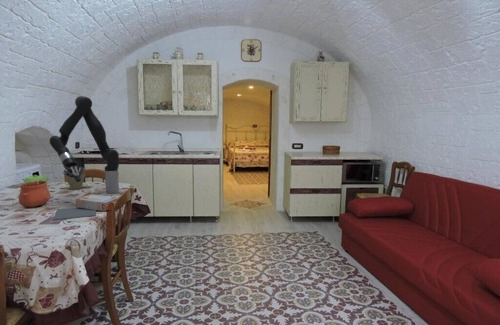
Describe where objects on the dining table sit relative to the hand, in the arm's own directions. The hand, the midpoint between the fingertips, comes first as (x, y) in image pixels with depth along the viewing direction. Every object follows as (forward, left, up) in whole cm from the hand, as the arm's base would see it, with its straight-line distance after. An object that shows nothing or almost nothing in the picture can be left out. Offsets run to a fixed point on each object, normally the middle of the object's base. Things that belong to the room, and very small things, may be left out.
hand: (79, 181), depth 210 cm
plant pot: (-57, -6, -17) cm, 60 cm away
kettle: (-67, -35, -17) cm, 78 cm away
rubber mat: (+16, -2, -16) cm, 23 cm away
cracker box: (+2, +1, -12) cm, 13 cm away
